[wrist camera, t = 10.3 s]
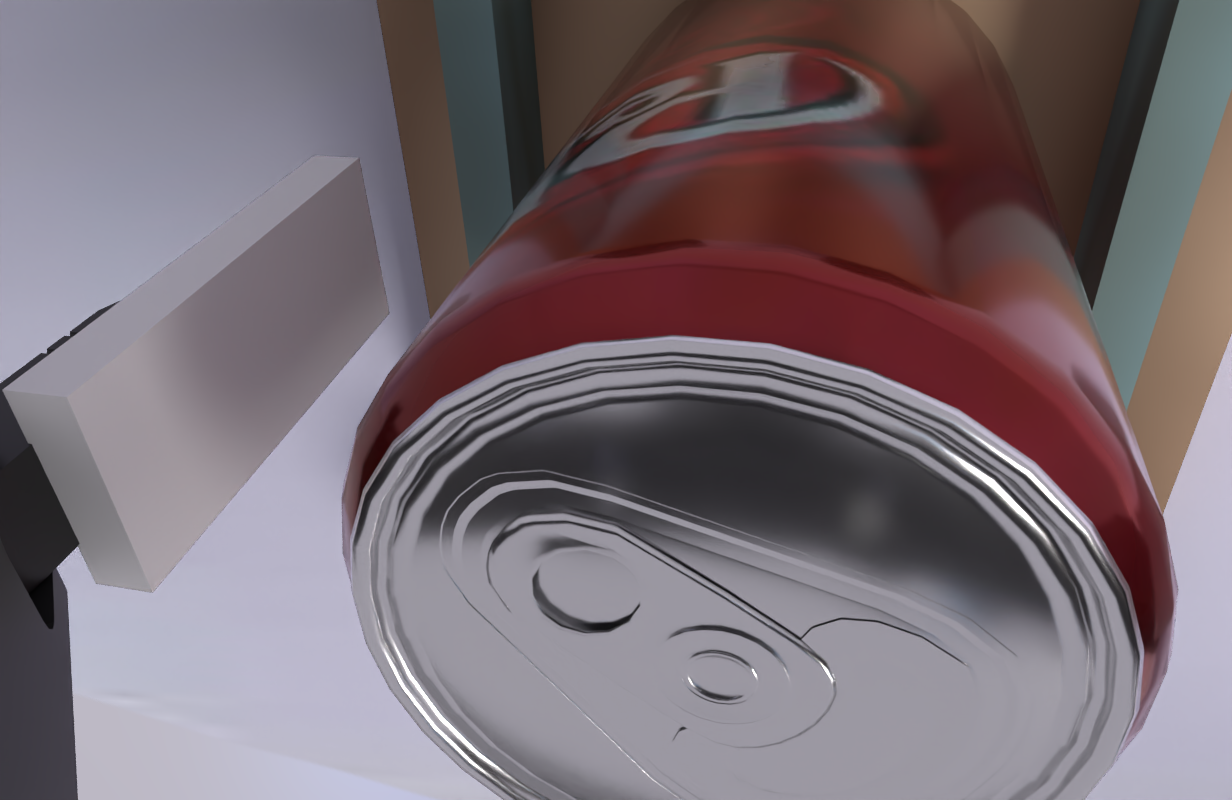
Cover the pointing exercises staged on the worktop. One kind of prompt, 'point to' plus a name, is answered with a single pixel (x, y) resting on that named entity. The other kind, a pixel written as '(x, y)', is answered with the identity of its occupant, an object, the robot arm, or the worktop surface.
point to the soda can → (770, 445)
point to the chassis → (1050, 100)
